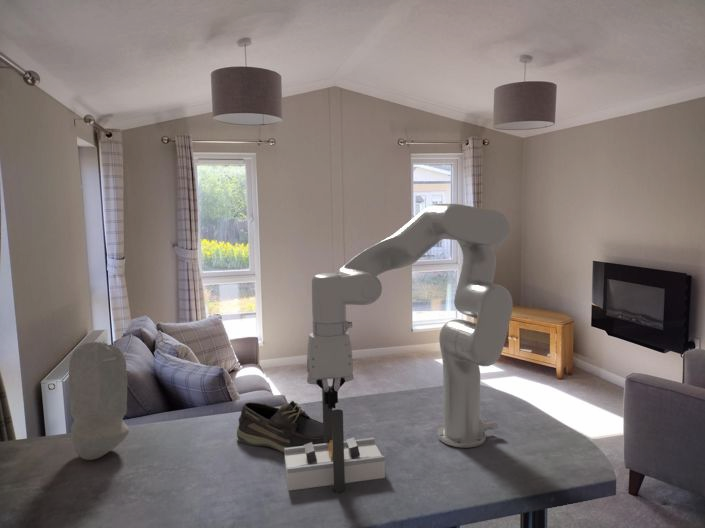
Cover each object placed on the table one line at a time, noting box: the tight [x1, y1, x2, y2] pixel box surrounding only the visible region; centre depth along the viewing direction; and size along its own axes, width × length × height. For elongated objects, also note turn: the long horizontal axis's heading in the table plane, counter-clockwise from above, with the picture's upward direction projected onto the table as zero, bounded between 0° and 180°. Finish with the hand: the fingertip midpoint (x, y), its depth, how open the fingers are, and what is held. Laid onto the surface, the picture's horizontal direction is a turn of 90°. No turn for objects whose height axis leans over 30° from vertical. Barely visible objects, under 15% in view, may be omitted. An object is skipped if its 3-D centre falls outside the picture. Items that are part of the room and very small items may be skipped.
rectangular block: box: [328, 440, 333, 459], centre depth 119 cm, size 2×4×2 cm, turn 12°
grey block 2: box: [345, 436, 360, 458], centre depth 119 cm, size 2×4×2 cm, turn 11°
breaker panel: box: [283, 437, 386, 491], centre depth 119 cm, size 22×10×5 cm, turn 102°
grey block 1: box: [304, 442, 317, 463], centre depth 117 cm, size 2×4×2 cm, turn 11°
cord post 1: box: [321, 385, 333, 443], centre depth 125 cm, size 2×2×18 cm
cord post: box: [332, 408, 346, 494], centre depth 111 cm, size 2×2×18 cm
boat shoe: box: [236, 400, 324, 454], centre depth 134 cm, size 11×29×11 cm, turn 73°
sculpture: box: [68, 341, 130, 461], centre depth 128 cm, size 15×12×30 cm
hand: (331, 406), depth 117 cm, fingers closed
